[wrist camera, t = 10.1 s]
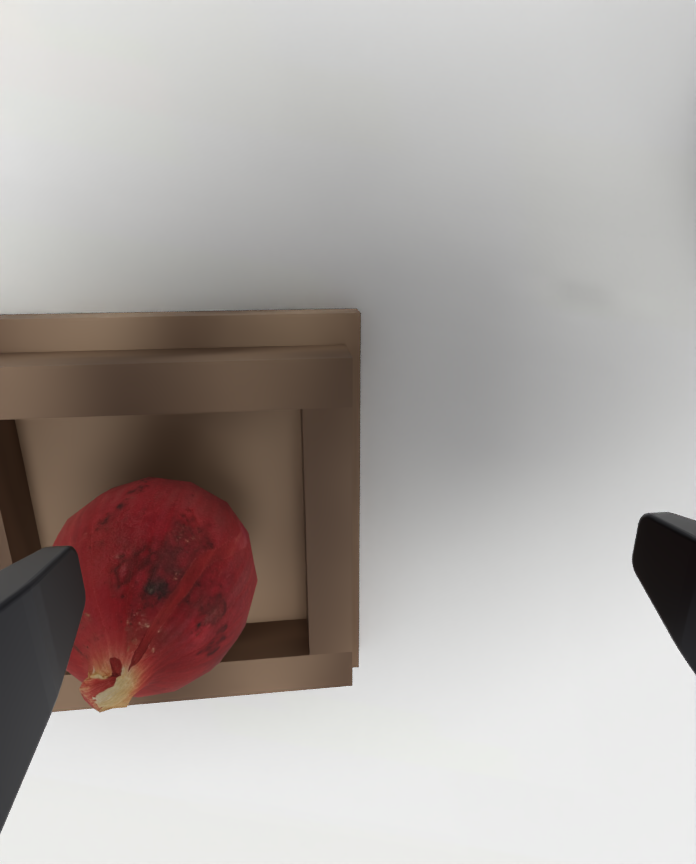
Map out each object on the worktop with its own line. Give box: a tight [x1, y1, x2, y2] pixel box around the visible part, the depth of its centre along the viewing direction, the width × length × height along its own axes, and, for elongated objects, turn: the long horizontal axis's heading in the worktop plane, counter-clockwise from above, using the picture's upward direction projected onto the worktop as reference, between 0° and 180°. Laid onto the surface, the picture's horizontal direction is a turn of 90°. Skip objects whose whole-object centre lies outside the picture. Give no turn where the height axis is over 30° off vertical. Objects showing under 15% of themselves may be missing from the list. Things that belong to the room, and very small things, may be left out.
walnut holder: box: [0, 309, 361, 712], centre depth 20 cm, size 13×14×3 cm
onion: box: [53, 477, 258, 712], centre depth 16 cm, size 6×6×8 cm
